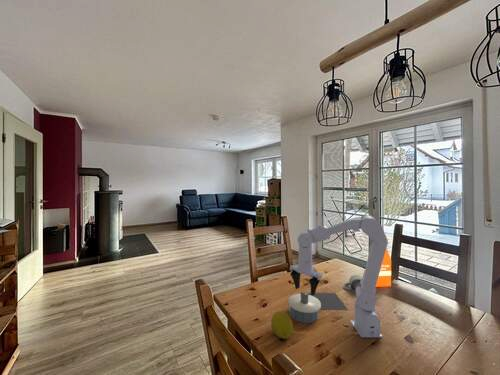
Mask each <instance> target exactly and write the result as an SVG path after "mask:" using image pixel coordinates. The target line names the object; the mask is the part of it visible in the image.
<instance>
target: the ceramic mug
mask: <svg viewBox="0 0 500 375" xmlns="http://www.w3.org/2000/svg"><path fill="white" fill-rule="evenodd" d="M362 278H363V277H361V276H360V275H357V274H353V275H352V276H350V277H349V280H348V282H346V283H344V284H343V285H342V288H343V290H345V291H352V292H353V293H355V294H356V292H355V289H356V287H357V286H358V285H359V284H360V281H361V279H362Z"/></svg>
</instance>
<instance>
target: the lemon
mask: <svg viewBox="0 0 500 375" xmlns="http://www.w3.org/2000/svg"><path fill="white" fill-rule="evenodd" d="M270 323H271V330H272V331H273V333H274V334H275V335H276V336H277V338H280V339H283V340H286V339H288V338H290V337H291V335H292V334H293V329H294V323H293V320H292V318H291V316H290V315H288V313H286V312H284V311H282V310H279V311H275V312H274V313H273V315H272V318H271V322H270Z"/></svg>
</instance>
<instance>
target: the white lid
mask: <svg viewBox="0 0 500 375" xmlns="http://www.w3.org/2000/svg"><path fill="white" fill-rule="evenodd" d="M308 293H309V292H308V291H301V292H300V293H295V294H292V295H290V296H289V297H288V304H289V305H290V306H291V307H292V308H293V309H295V310H297V311H300V312H304V313H313V312H317V311H318V310H319V311H321V310H320V308H321V302H320V301H319V300H318V299H317V298H315V297H313V296H311V295H308ZM289 305H288V306H289Z"/></svg>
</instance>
